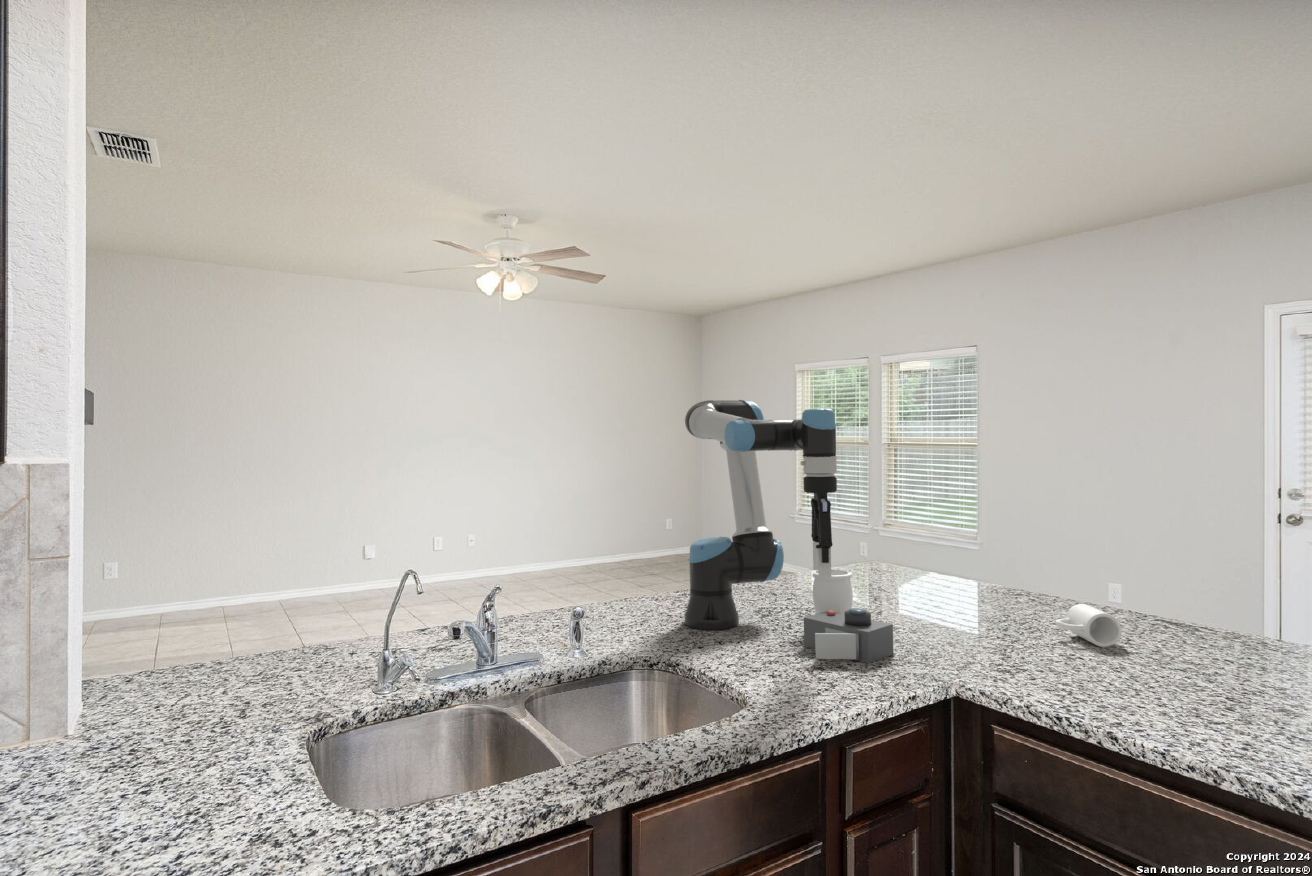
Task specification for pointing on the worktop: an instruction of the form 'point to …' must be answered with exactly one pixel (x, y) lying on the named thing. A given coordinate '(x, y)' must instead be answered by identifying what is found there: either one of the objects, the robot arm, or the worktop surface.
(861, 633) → the camera body
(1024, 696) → the worktop surface
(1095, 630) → the mug
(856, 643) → the side door
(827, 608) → the jar
